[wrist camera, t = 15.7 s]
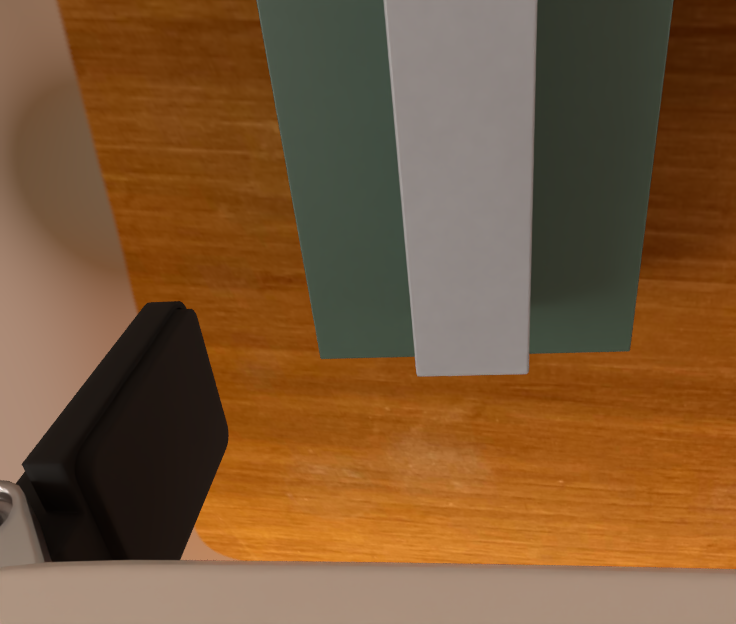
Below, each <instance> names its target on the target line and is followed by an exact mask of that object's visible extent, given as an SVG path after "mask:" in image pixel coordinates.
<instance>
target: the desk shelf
mask: <svg viewBox="0 0 736 624" xmlns="http://www.w3.org/2000/svg"><path fill="white" fill-rule="evenodd" d="M256 1H257V6H258V12H259V17H260V23H261V29H262V34H263V40H264V45H265V51H266V56H267V62H268V68H269V73H270V79H271V84H272V90H273V96H274V101H275V107H276V112H277V118H278V123H279V129H280V135H281V140H282V146H283V151H284V157H285V162H286V168H287V174H288V179H289V185H290V190H291V196H292V201H293V207H294V213H295V218H296V224H297V229H298V235H299V241H300V246H301V252H302V257H303V263H304V268H305V274H306V280H307V285H308V291H309V296H310V302H311V307H312V313H313V319H314V324H315V330H316V335H317V341H318V346H319V352H320V358H321V359H336V358H376V357H415V351H414V340H413V329H412V317H411V306H410V295H409V283H408V272H407V261H406V250H405V238H404V227H403V216H402V204H401V193H400V182H399V171H398V159H397V148H396V137H395V125H394V114H393V103H392V92H391V80H390V69H389V58H388V46H387V35H386V24H385V12H384V1H383V0H256ZM673 1H674V0H537V39H536V82H535V124H534V166H533V209H532V251H531V293H530V336H529V354H536V353H576V352H616V351H630V345H631V337H632V329H633V321H634V313H635V305H636V297H637V289H638V281H639V273H640V265H641V257H642V249H643V241H644V233H645V225H646V217H647V209H648V201H649V193H650V185H651V177H652V169H653V161H654V153H655V145H656V137H657V129H658V121H659V113H660V105H661V97H662V89H663V81H664V73H665V65H666V57H667V49H668V41H669V33H670V25H671V17H672V9H673Z"/></svg>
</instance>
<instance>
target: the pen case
mask: <svg viewBox="0 0 736 624" xmlns="http://www.w3.org/2000/svg"><path fill="white" fill-rule="evenodd" d="M383 1H384V12H385V24H386V35H387V46H388V58H389V69H390V80H391V92H392V103H393V114H394V125H395V137H396V148H397V159H398V171H399V182H400V193H401V204H402V216H403V227H404V238H405V250H406V261H407V272H408V283H409V295H410V306H411V317H412V329H413V340H414V351H415V363H416V374H417V375H418V376H458V375H504V374H527V373H528V371H529V336H530V293H531V251H532V209H533V166H534V124H535V82H536V39H537V0H383Z"/></svg>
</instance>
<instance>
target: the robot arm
mask: <svg viewBox="0 0 736 624" xmlns="http://www.w3.org/2000/svg"><path fill="white" fill-rule="evenodd" d="M227 444H228V426H227V422H226V419H225V415H224V412H223V408H222V404H221V401H220V397H219V394H218V390H217V387H216V383H215V379H214V376H213V372H212V369H211V365H210V362H209V358H208V354H207V351H206V347H205V344H204V340H203V336H202V333H201V329H200V326H199V322H198V319H197V316H196V313H195V312H194V310H192V309H186V307H185V305H184V304H183V303H182V302H180V301H174V302H151V303H147V304H146V305H145V306H144V307H143V308H142V309H141V311H140V312H139V313H138V315H137V316H136V317H135V319H134V320H133V321H132V322H131V324H130V325H129V326H128V328H127V329H126V330H125V332H124V333H123V334H122V335H121V337H120V338H119V339H118V340H117V342H116V343H115V344H114V346H113V347H112V348H111V350H110V351H109V352H108V354H107V355H106V356H105V358H104V359H103V360H102V361H101V362H100V364H99V365H98V366H97V368H96V369H95V370H94V371H93V373H92V374H91V375H90V377H89V378H88V379H87V381H86V382H85V383H84V385H83V386H82V387H81V388H80V390H79V391H78V392H77V393H76V395H75V396H74V397H73V399H72V400H71V401H70V402H69V404H68V405H67V406H66V408H65V409H64V410H63V412H62V413H61V414H60V415H59V417H58V418H57V419H56V421H55V422H54V423H53V425H52V426H51V427H50V428H49V430H48V431H47V432H46V434H45V435H44V436H43V438H42V439H41V440H40V441H39V443H38V444H37V445H36V447H35V448H34V449H33V450H32V452H31V453H30V454H29V455H28V457H27V458H26V459H25V461H24V462H23V463H22V466H23V467H24V470H25V472H24V474H23V475H22V476H21V478H20V479H19V480H18V481H17V483H16V484H14V483H12V482H10V481H1V480H0V624H736V569H701V568H656V567H612V566H561V565H506V564H447V563H385V562H303V561H216V560H213V561H212V560H180V559H181V556H182V554H183V551H184V549H185V547H186V544H187V542H188V539H189V537H190V535H191V532H192V530H193V527H194V525H195V523H196V520H197V518H198V515H199V513H200V511H201V508H202V506H203V503H204V501H205V498H206V496H207V494H208V491H209V489H210V486H211V484H212V482H213V479H214V477H215V474H216V472H217V469H218V467H219V465H220V462H221V460H222V457H223V455H224V453H225V450H226V447H227Z"/></svg>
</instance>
